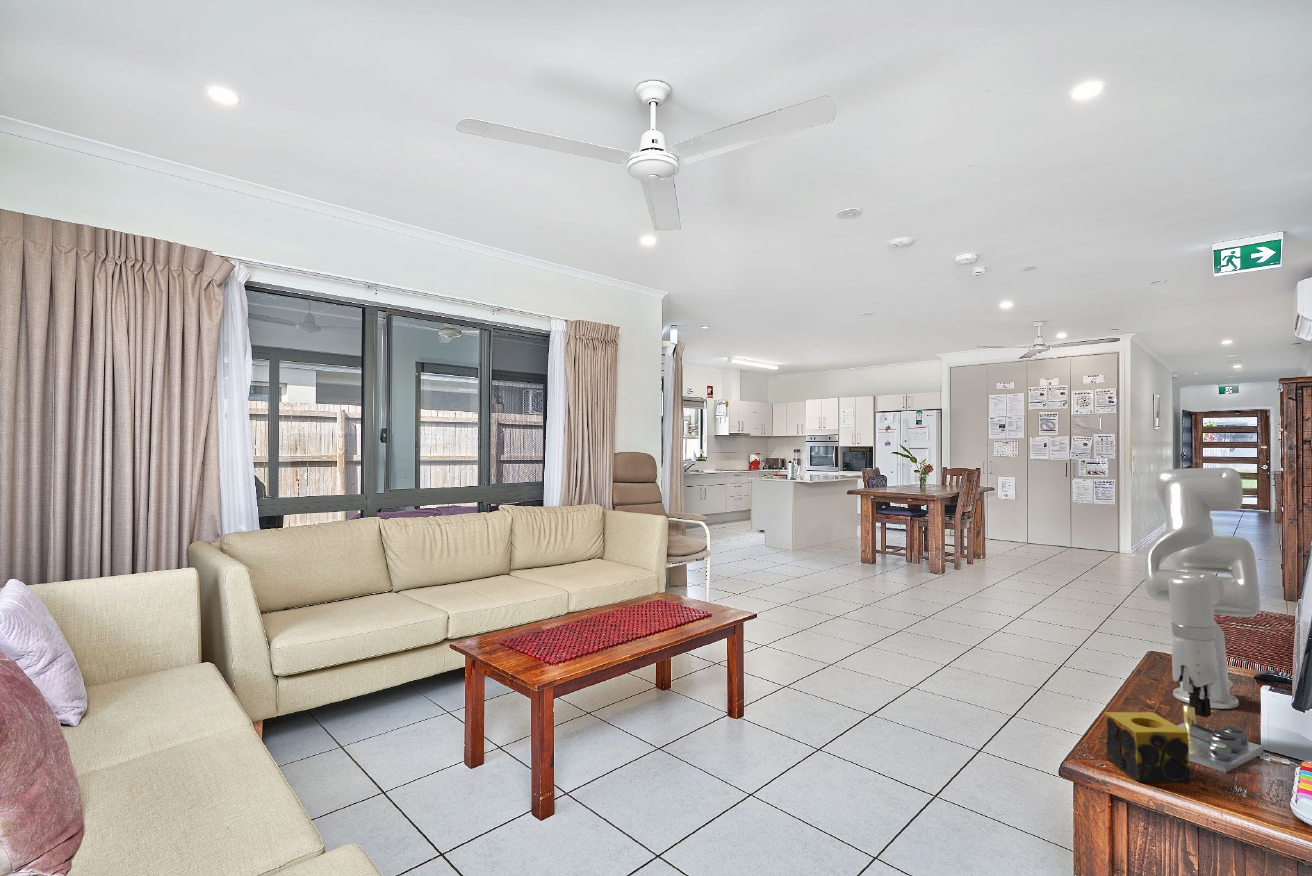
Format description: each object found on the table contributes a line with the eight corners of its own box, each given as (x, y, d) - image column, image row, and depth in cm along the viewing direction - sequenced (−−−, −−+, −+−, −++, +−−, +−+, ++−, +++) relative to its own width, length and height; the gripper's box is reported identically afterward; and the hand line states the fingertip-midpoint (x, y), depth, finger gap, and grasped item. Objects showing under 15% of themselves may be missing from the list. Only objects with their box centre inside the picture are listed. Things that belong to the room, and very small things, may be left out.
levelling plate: (1185, 729, 145) (1183, 711, 145) (1264, 752, 132) (1262, 732, 132) (1145, 746, 137) (1143, 727, 138) (1225, 772, 125) (1223, 751, 125)
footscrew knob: (1247, 750, 130) (1245, 721, 130) (1228, 753, 129) (1225, 724, 129) (1195, 729, 140) (1193, 703, 141) (1177, 732, 139) (1174, 706, 140)
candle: (1105, 759, 132) (1101, 711, 133) (1157, 759, 131) (1152, 711, 132) (1137, 784, 122) (1133, 731, 123) (1193, 784, 121) (1189, 731, 122)
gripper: (1190, 624, 149) (1197, 703, 148) (1156, 633, 142) (1163, 716, 141) (1230, 630, 142) (1238, 713, 141) (1196, 641, 135) (1204, 728, 134)
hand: (1200, 714), depth 141 cm, fingers closed
